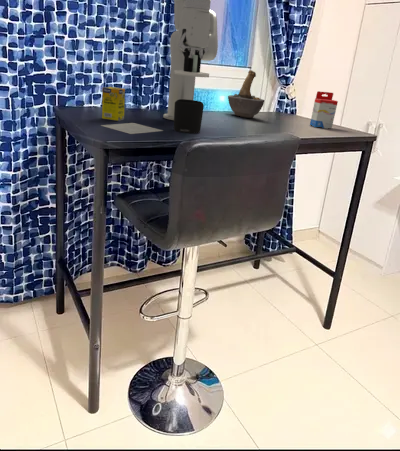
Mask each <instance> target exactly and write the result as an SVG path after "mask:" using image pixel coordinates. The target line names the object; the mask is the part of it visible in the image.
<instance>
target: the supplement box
mask: <svg viewBox="0 0 400 451" xmlns="http://www.w3.org/2000/svg"><path fill="white" fill-rule="evenodd" d="M101 96H102V97H101V99H102V102H101V104H102V106H101V119H102V120H105V121H113V122H120V121H124V120H125V102H126V99H125V98H126V97H125V96H126V88H122V87H115V86H107V87H106V86H104V87H102V93H101Z"/></svg>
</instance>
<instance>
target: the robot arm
mask: <svg viewBox="0 0 400 451" xmlns="http://www.w3.org/2000/svg"><path fill="white" fill-rule="evenodd" d="M211 1H212V0H173V2H174V9H173V10H174V11H173V16H174V18H173V20H174V27H175V31H173V32H172V34H171V35H170V39H169V46H170V47H169V49H170V50H169V51H170V73H169V74H170V75H169V90H168V101H167V102H168V104H167V113H164V114H163V117H162V118H164V119H167V120H171V121H174V107H175V102H176V101H177V100H179V99H186V100H194V99H195V98H194V95H195V86H196V77H194V76H185V75H178V74H174V70H184V71H186V72H192V70H193V58H192V55H198V62H197V72H198V73H199V72H201V65H202V61H204V62H206V61H208V62H209V61H213V60H214V59H215V58H216V57H217V55H218V47H219V45H218V44H219V43H218V41H219V40H218V39H219V38H218V37H219V36H218V19H217V15H216V12H215V11H213V10H211Z"/></svg>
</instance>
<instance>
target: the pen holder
mask: <svg viewBox="0 0 400 451" xmlns="http://www.w3.org/2000/svg"><path fill="white" fill-rule="evenodd" d="M204 108H205V106H204V103H203V102H202V101H200V100H194V99H193V100H186V99H179V100H177V101H176V102H175V107H174V120H173V131H174V132H178V133H183V134H200V132H201V128H202V123H203V121H202V120H203V113H204Z"/></svg>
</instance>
